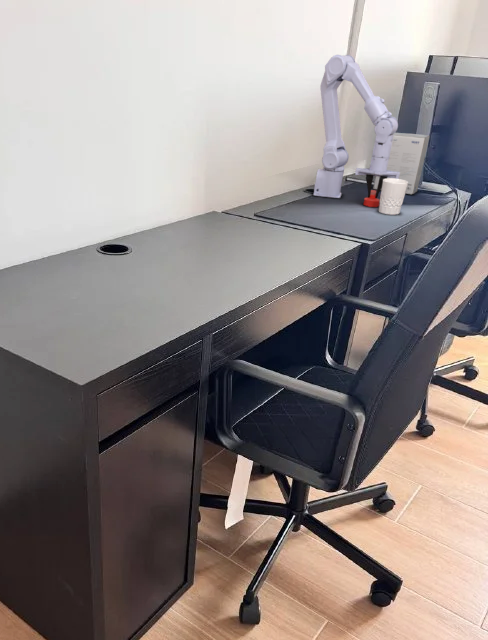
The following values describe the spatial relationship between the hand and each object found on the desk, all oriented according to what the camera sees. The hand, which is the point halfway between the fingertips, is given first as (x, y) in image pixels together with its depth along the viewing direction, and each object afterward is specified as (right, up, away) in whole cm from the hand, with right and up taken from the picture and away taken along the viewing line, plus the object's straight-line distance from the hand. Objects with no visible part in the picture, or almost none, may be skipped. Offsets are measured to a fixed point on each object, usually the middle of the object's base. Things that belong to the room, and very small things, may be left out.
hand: (372, 198), depth 202 cm
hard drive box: (+15, +10, +20) cm, 27 cm away
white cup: (+2, -9, -10) cm, 14 cm away
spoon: (0, -1, 0) cm, 2 cm away
